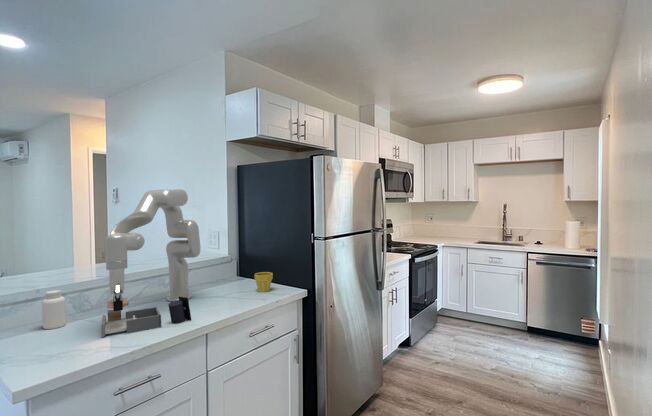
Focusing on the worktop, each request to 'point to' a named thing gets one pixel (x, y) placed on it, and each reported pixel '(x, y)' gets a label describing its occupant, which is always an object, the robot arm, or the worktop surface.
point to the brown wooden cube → (114, 315)
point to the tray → (114, 325)
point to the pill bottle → (53, 310)
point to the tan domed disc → (110, 303)
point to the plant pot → (263, 281)
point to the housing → (143, 319)
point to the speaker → (179, 310)
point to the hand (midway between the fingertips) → (118, 308)
